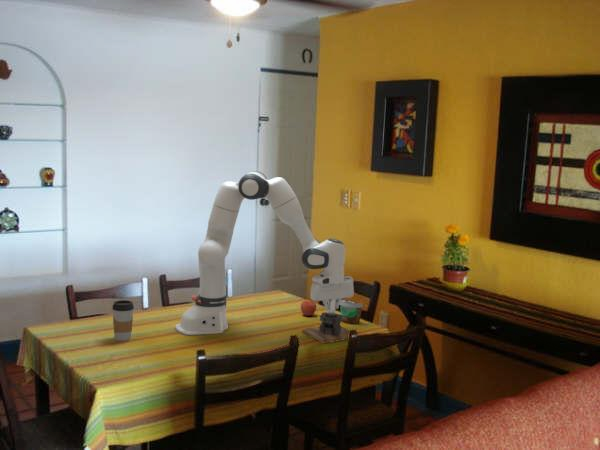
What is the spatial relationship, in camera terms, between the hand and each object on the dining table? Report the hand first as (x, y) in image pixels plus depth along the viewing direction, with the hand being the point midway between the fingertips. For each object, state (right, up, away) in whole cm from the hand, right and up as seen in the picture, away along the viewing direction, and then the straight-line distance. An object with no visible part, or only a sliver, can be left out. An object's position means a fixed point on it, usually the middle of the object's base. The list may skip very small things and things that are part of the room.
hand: (331, 309), depth 293 cm
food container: (+8, -9, +22) cm, 25 cm away
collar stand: (-1, -11, +2) cm, 11 cm away
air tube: (0, -8, +1) cm, 8 cm away
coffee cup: (-84, -10, -17) cm, 86 cm away
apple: (-10, -7, +30) cm, 32 cm away
